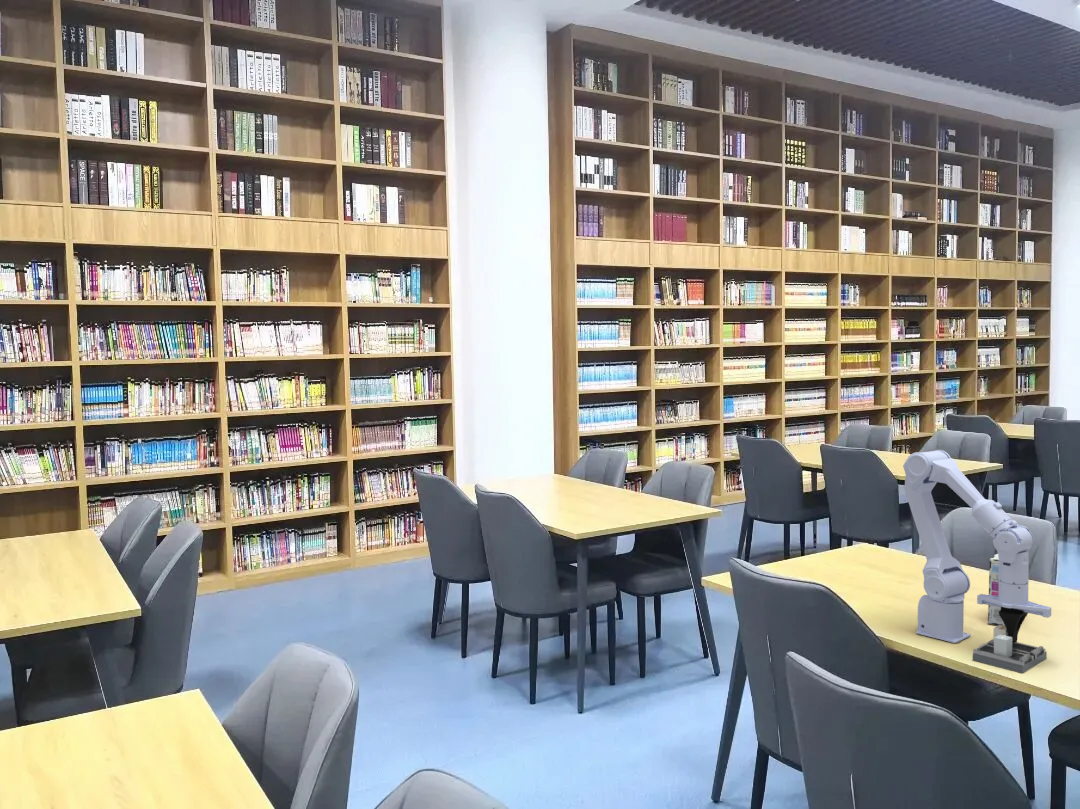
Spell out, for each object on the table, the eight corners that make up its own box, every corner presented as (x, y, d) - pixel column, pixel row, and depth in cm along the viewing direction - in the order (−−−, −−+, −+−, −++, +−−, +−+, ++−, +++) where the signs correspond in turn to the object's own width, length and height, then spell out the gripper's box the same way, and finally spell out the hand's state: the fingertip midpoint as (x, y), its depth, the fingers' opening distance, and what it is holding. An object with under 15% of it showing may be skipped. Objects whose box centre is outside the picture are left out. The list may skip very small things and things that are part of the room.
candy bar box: (1010, 628, 201) (1011, 561, 200) (987, 624, 204) (988, 559, 203) (1018, 617, 209) (1019, 553, 208) (996, 613, 212) (997, 550, 211)
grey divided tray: (972, 660, 180) (972, 648, 180) (998, 646, 188) (998, 635, 188) (1022, 673, 172) (1022, 660, 172) (1046, 658, 180) (1046, 646, 180)
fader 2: (993, 655, 178) (994, 636, 178) (999, 652, 180) (1000, 633, 180) (1006, 658, 176) (1006, 639, 176) (1012, 655, 178) (1012, 636, 178)
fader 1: (993, 645, 184) (993, 627, 184) (999, 642, 186) (999, 624, 186) (1005, 648, 182) (1005, 630, 182) (1010, 645, 184) (1011, 627, 184)
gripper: (971, 578, 185) (971, 638, 185) (1042, 591, 173) (1042, 654, 174) (985, 573, 189) (984, 631, 190) (1055, 585, 178) (1054, 647, 179)
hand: (1013, 642), depth 182 cm, fingers closed
